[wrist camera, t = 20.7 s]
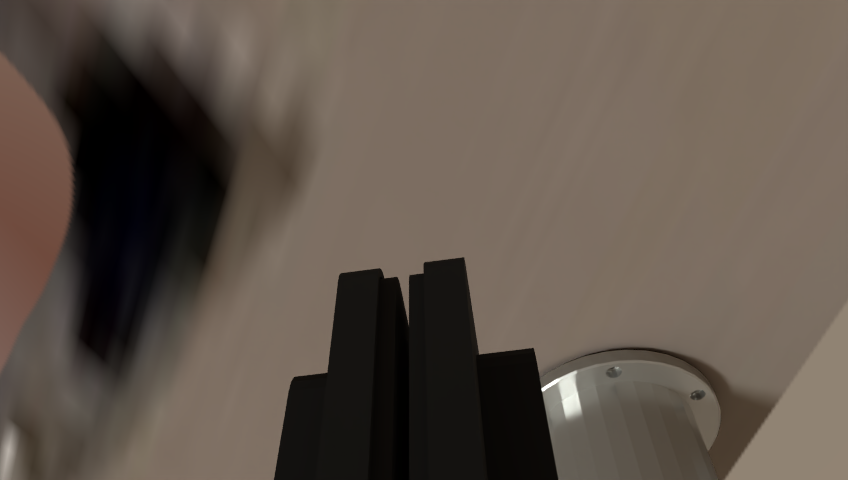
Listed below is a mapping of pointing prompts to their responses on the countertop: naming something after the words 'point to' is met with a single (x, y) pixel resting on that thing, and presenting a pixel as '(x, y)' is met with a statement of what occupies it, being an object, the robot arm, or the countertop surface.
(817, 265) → the countertop surface
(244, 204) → the countertop surface
